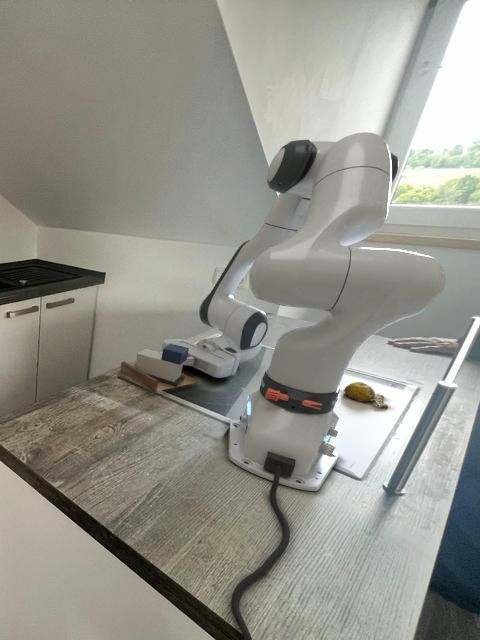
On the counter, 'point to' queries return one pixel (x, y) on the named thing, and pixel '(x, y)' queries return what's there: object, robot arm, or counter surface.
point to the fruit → (363, 393)
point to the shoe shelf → (150, 378)
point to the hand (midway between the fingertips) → (173, 360)
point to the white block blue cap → (163, 363)
